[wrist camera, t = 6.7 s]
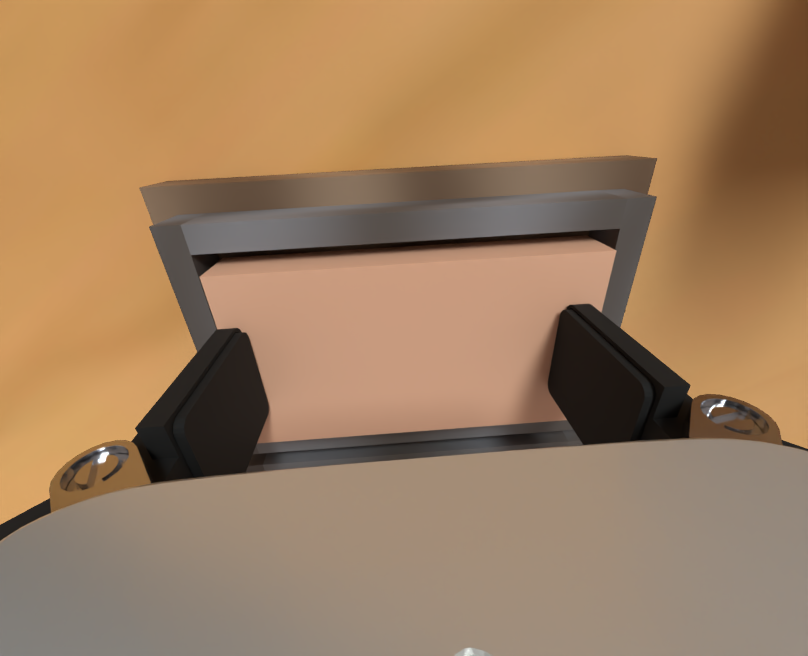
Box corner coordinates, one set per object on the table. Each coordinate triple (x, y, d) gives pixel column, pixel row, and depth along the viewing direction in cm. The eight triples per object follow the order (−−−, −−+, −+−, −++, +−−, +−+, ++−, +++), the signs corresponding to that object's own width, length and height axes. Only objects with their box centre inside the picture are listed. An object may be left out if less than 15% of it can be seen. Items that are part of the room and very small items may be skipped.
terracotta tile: (586, 235, 11) (616, 250, 10) (555, 390, 14) (575, 419, 12) (223, 257, 11) (199, 276, 9) (269, 411, 14) (256, 443, 12)
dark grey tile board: (626, 155, 12) (696, 162, 9) (526, 592, 25) (543, 646, 23) (166, 180, 11) (103, 196, 9) (313, 611, 25) (305, 667, 22)
